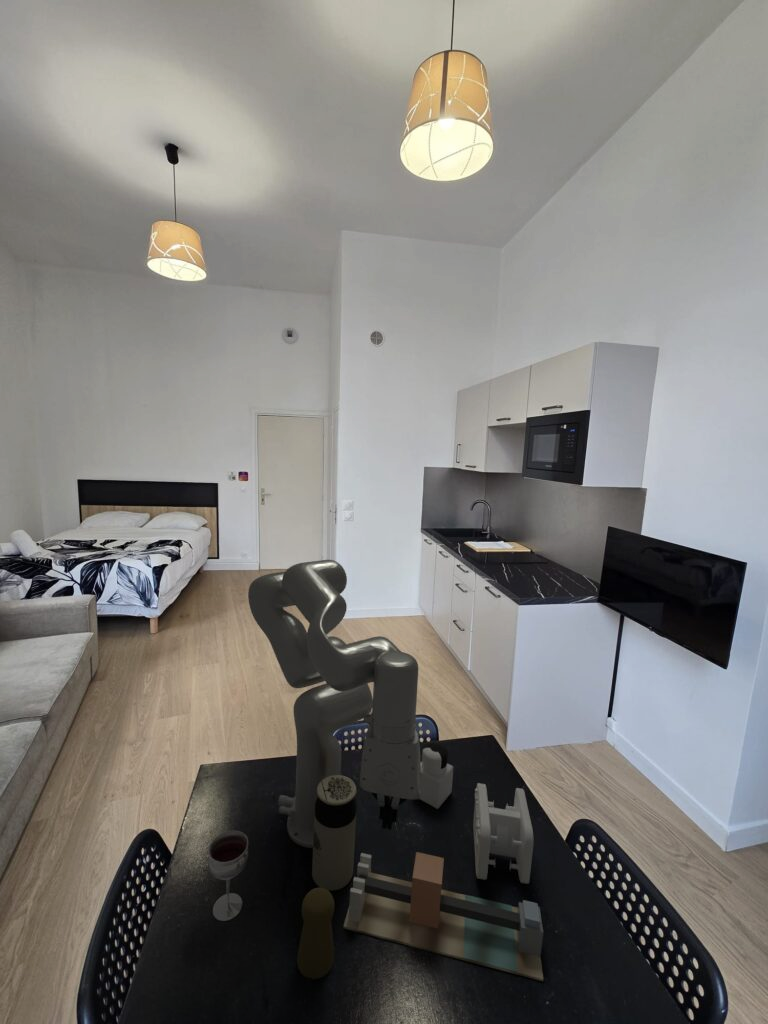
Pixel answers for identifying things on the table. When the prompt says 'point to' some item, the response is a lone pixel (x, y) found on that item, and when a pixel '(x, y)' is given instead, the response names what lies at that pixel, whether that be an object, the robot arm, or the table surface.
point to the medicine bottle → (435, 775)
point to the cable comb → (359, 888)
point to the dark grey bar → (446, 904)
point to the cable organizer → (502, 833)
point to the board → (447, 933)
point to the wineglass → (228, 869)
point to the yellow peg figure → (316, 934)
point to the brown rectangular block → (426, 890)
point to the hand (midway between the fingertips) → (388, 822)
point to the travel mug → (334, 832)
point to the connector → (530, 928)
